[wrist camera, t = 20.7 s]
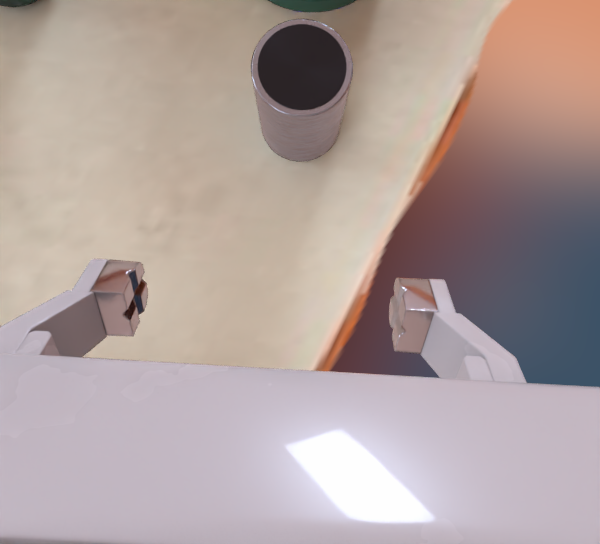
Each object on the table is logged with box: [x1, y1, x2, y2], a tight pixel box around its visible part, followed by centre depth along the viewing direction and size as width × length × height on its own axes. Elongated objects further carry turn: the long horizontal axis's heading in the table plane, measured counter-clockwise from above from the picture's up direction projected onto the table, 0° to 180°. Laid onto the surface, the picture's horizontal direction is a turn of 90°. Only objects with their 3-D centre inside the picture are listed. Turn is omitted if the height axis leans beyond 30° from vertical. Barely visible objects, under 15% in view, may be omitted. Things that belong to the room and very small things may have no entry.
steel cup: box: [251, 19, 353, 161], centre depth 29 cm, size 5×5×8 cm
